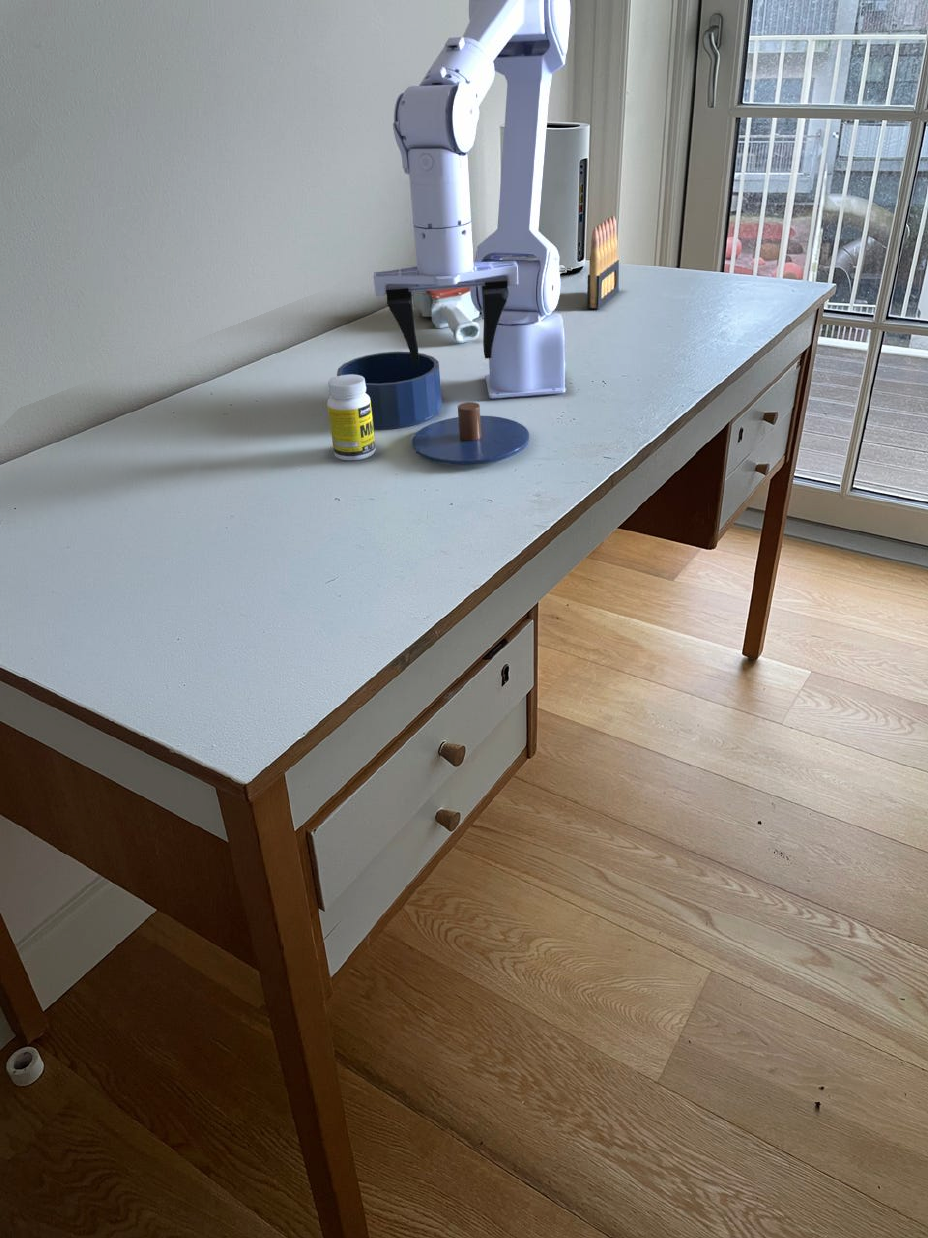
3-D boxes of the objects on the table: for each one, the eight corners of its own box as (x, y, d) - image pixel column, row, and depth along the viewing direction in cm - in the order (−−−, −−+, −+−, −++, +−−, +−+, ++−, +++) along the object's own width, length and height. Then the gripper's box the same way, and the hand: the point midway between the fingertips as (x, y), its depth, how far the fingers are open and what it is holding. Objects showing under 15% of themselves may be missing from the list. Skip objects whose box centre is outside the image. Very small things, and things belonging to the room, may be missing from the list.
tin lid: (475, 415, 117) (473, 377, 114) (553, 443, 108) (553, 402, 106) (389, 448, 110) (385, 408, 107) (466, 481, 101) (463, 438, 99)
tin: (440, 389, 125) (437, 348, 122) (443, 425, 115) (440, 380, 112) (345, 397, 125) (340, 355, 122) (340, 432, 115) (333, 388, 112)
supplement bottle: (369, 462, 107) (360, 388, 102) (328, 461, 108) (317, 387, 103) (381, 445, 111) (373, 372, 106) (341, 444, 112) (331, 372, 107)
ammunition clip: (598, 310, 151) (599, 228, 145) (586, 309, 152) (587, 227, 145) (618, 291, 159) (620, 213, 153) (607, 291, 160) (609, 213, 153)
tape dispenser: (468, 357, 140) (535, 311, 153) (466, 321, 137) (534, 277, 150) (369, 338, 148) (441, 296, 161) (365, 303, 145) (439, 263, 158)
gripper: (367, 236, 93) (382, 375, 100) (519, 225, 93) (523, 364, 100) (369, 222, 99) (384, 354, 106) (512, 211, 99) (516, 344, 106)
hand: (451, 358), depth 104 cm, fingers open, 7 cm apart
